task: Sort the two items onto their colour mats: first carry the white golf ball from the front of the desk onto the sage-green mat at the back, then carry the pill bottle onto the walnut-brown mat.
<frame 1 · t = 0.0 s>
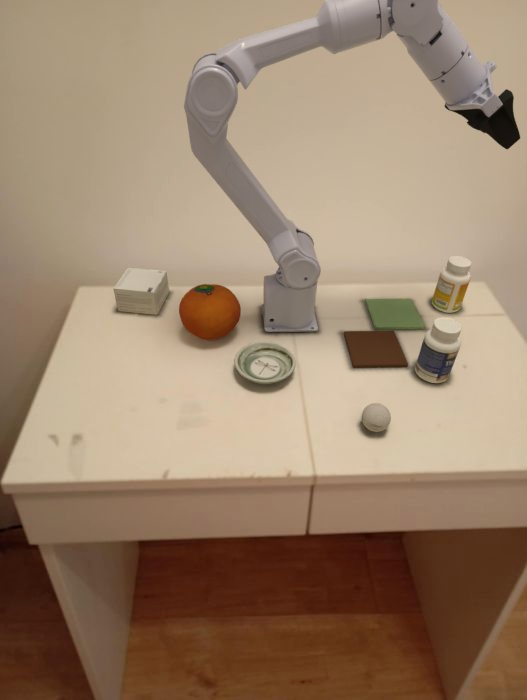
hand: (500, 135, 67), 32 cm above the table, tool tilted 50°, fingers open, 7 cm apart
golf ball: (373, 427, 67), on the table
pill bottle: (431, 373, 76), on the table
walnut mat: (374, 349, 80), on the table
saucer: (264, 372, 76), on the table
sage mat: (393, 315, 88), on the table
supplement bottle: (445, 306, 91), on the table
small box: (144, 302, 90), on the table
fruit: (211, 330, 84), on the table
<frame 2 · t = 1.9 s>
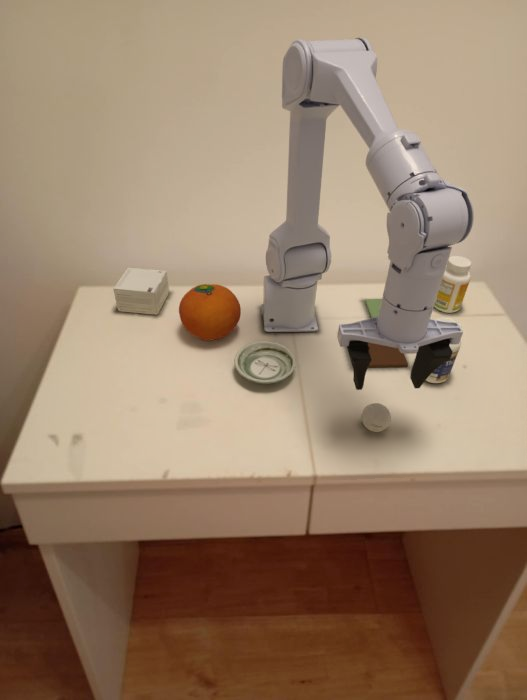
hand: (386, 383, 62), 9 cm above the table, tool pointing down, fingers open, 7 cm apart
nothing on the table moved.
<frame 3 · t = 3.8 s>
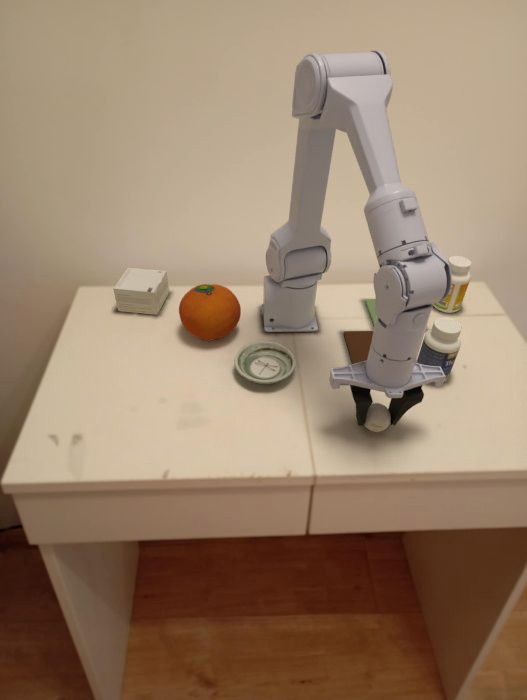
hand: (375, 420, 66), 1 cm above the table, tool pointing down, fingers closed on golf ball, 4 cm apart
golf ball: (373, 427, 67), on the table, touching gripper
everything else where it was.
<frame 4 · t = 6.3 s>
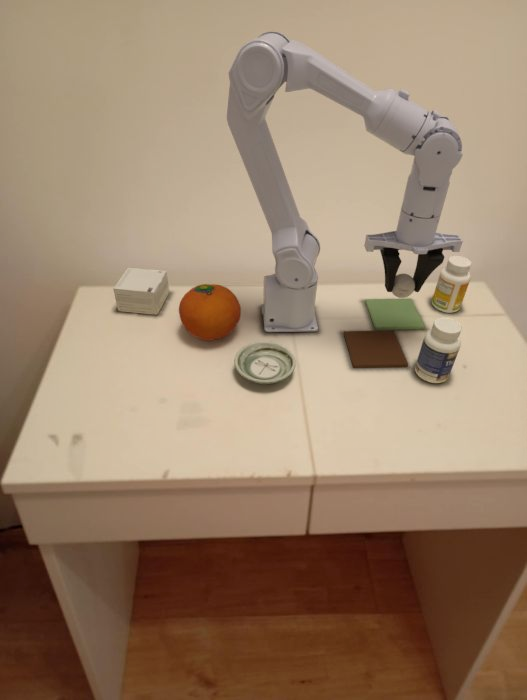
hand: (401, 288, 78), 9 cm above the table, tool pointing down, fingers closed on golf ball, 4 cm apart
golf ball: (399, 296, 79), point 8 cm above the table, touching gripper
everything else where it was.
when the fingers open (2 cm above the table, at t = 9.0 s): golf ball stays where it is, resting on sage mat.
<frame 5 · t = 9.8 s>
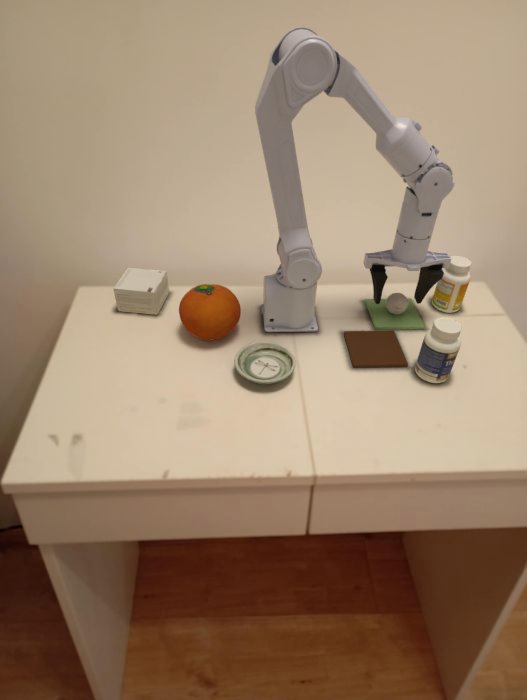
hand: (396, 300, 86), 3 cm above the table, tool pointing down, fingers open, 7 cm apart
golf ball: (394, 313, 88), resting on sage mat
everything else where it was.
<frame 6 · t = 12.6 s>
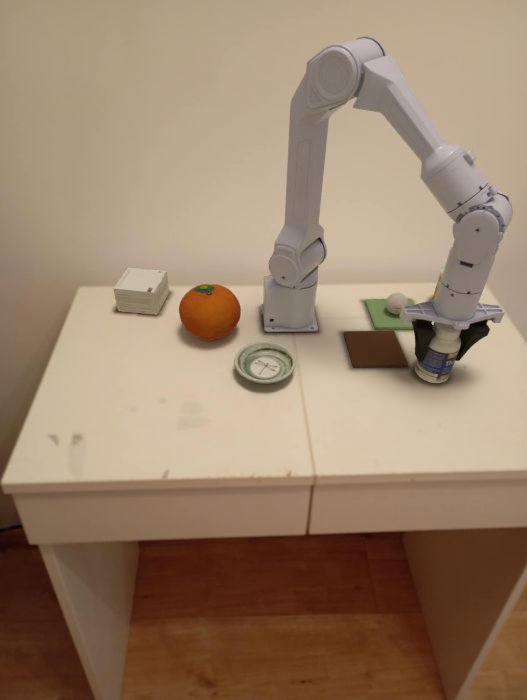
hand: (436, 357, 74), 3 cm above the table, tool pointing down, fingers closed on pill bottle, 5 cm apart
pill bottle: (431, 373, 76), on the table, touching gripper
everything else where it was.
when the fingers open (4 cm above the table, at t = 17.2 s): pill bottle stays where it is, resting on walnut mat.
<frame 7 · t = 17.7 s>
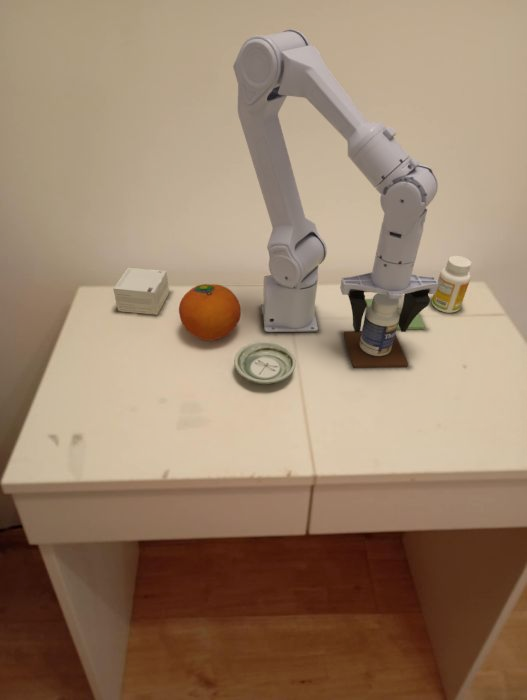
hand: (379, 328, 77), 5 cm above the table, tool pointing down, fingers open, 7 cm apart
pill bottle: (375, 347, 80), resting on walnut mat
everything else where it was.
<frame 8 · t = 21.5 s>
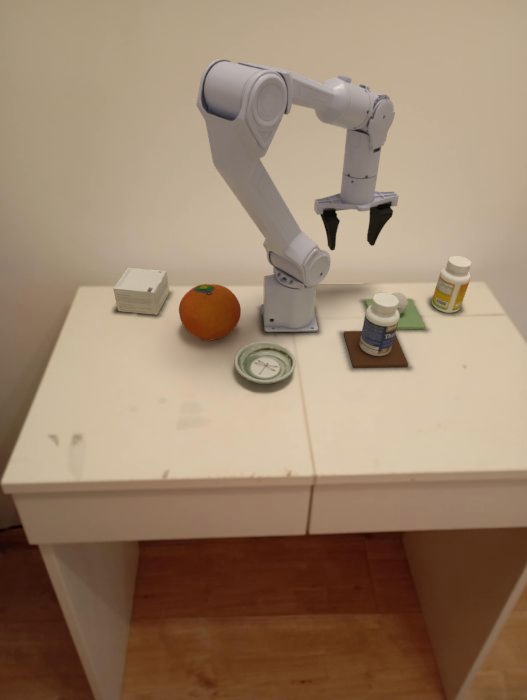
hand: (351, 245, 87), 10 cm above the table, tool pointing down, fingers open, 7 cm apart
nothing on the table moved.
at the end: golf ball inside the target area on the sage mat (0.0 cm from its centre), point 0.4 cm above the sage mat's base; pill bottle inside the target area on the walnut mat (0.0 cm from its centre), point 0.4 cm above the walnut mat's base; pill bottle tilted 0° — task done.
